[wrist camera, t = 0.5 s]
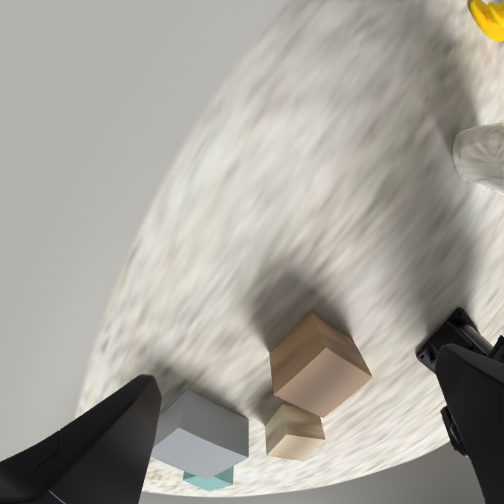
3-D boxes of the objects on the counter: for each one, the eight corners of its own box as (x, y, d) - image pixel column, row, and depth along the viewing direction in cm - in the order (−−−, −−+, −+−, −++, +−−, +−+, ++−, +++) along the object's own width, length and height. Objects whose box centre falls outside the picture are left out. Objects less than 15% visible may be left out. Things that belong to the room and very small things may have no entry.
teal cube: (233, 458, 27) (232, 484, 24) (211, 466, 28) (209, 491, 24) (209, 445, 26) (205, 473, 23) (187, 454, 27) (182, 479, 23)
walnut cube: (352, 339, 22) (372, 377, 17) (312, 377, 23) (323, 417, 18) (310, 309, 21) (325, 347, 16) (269, 352, 22) (273, 394, 18)
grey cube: (248, 418, 25) (248, 457, 20) (210, 444, 27) (206, 479, 22) (188, 387, 24) (178, 427, 19) (156, 418, 25) (145, 453, 20)
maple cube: (318, 410, 25) (325, 439, 21) (298, 431, 26) (303, 460, 22) (282, 402, 24) (286, 434, 20) (265, 425, 25) (266, 455, 21)
